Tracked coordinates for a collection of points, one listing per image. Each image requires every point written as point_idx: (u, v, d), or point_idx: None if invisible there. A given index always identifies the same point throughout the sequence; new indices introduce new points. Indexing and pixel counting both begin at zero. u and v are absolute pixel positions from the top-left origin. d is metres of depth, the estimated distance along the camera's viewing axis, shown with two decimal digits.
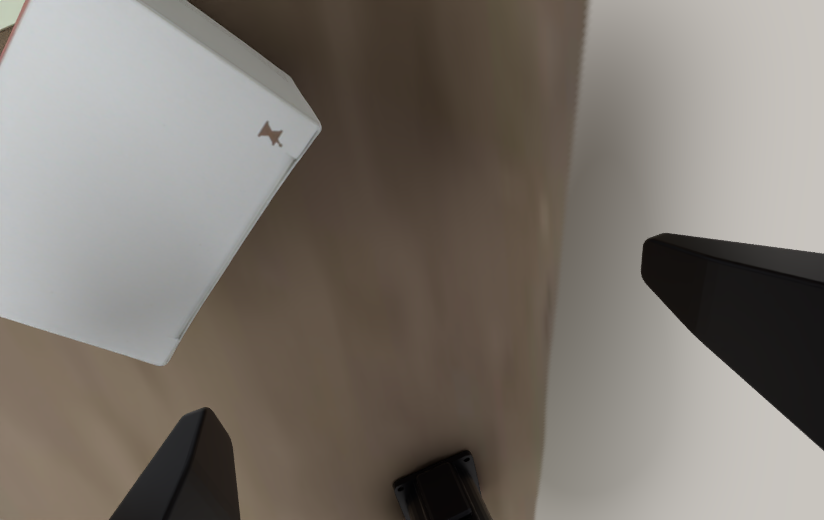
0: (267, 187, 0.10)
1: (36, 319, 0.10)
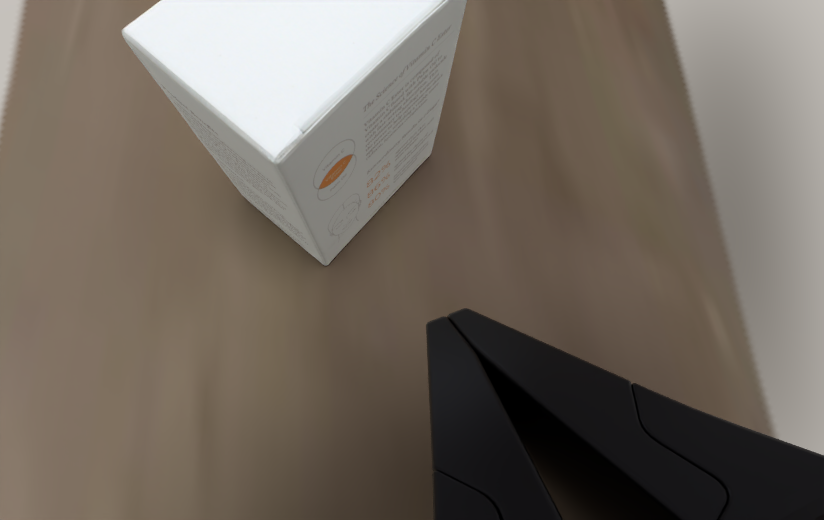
0: (420, 12, 0.12)
1: (194, 76, 0.11)
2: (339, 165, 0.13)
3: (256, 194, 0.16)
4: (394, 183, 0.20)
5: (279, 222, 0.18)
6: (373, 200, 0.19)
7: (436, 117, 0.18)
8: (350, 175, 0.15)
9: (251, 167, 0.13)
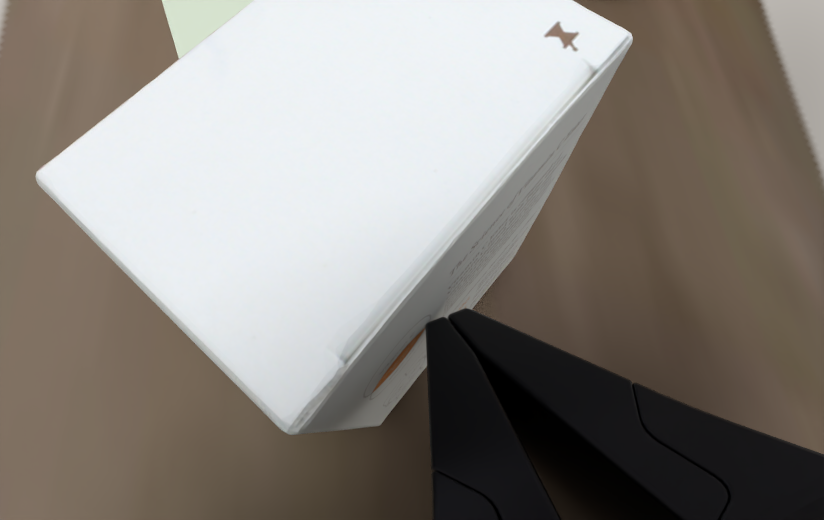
0: (551, 104, 0.07)
1: (145, 256, 0.06)
2: (405, 350, 0.08)
3: None
4: None
5: None
6: None
7: (530, 224, 0.13)
8: (419, 345, 0.09)
9: None
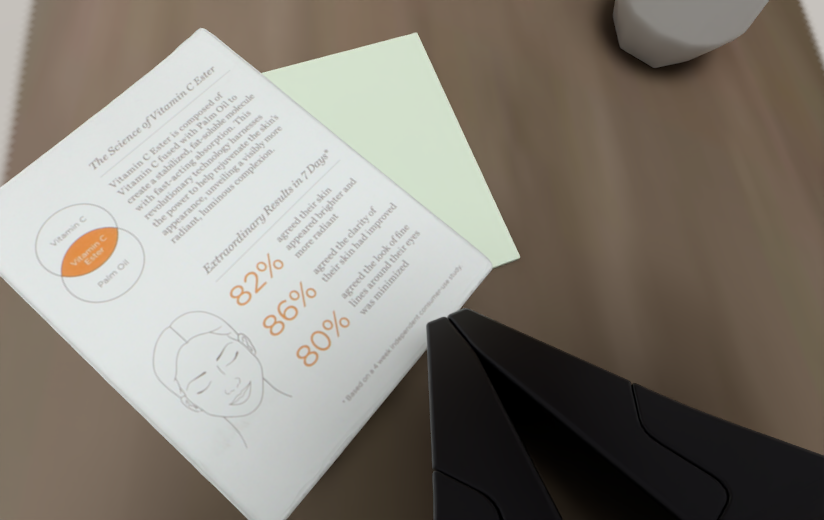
0: None
1: None
2: (91, 241, 0.10)
3: None
4: (369, 316, 0.10)
5: None
6: (310, 350, 0.10)
7: (368, 179, 0.11)
8: (142, 265, 0.10)
9: None
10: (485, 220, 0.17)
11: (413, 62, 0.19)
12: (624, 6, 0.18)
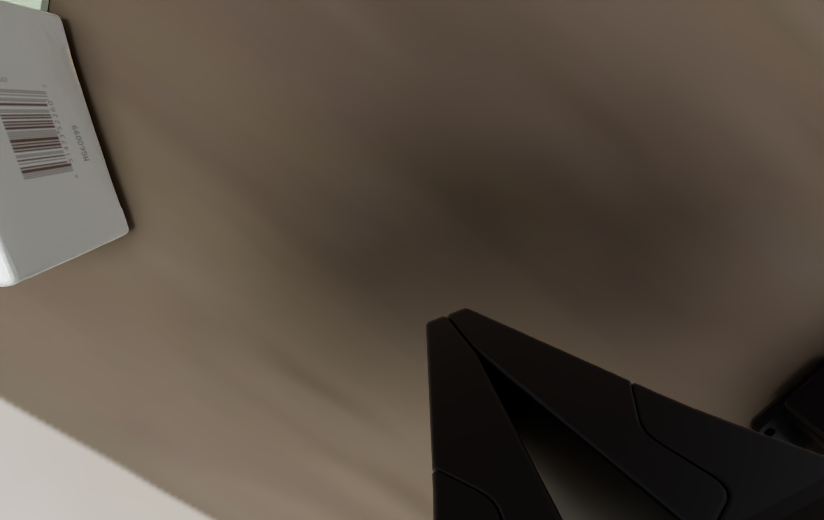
0: None
1: None
2: None
3: None
4: None
5: None
6: None
7: None
8: None
9: None
10: None
11: None
12: None
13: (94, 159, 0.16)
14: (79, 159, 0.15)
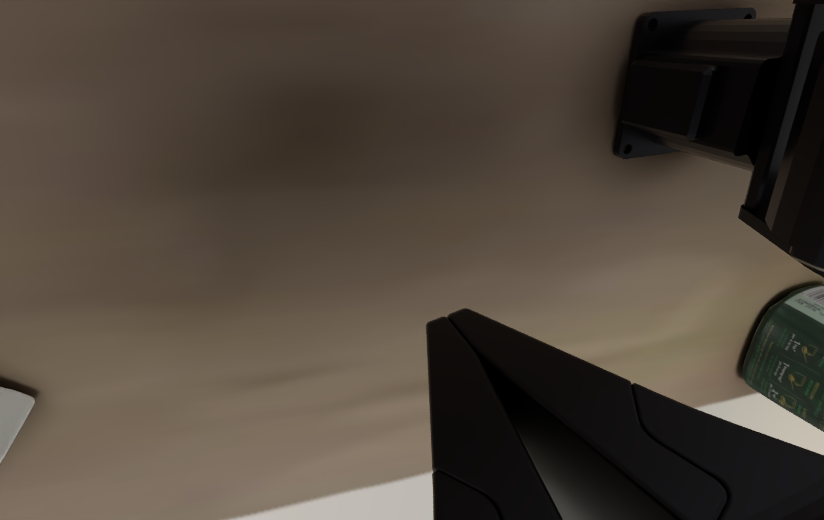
0: None
1: None
2: None
3: None
4: None
5: None
6: None
7: None
8: None
9: None
10: None
11: None
12: None
13: None
14: None
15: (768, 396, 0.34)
